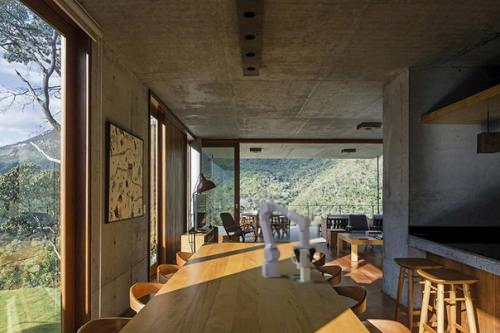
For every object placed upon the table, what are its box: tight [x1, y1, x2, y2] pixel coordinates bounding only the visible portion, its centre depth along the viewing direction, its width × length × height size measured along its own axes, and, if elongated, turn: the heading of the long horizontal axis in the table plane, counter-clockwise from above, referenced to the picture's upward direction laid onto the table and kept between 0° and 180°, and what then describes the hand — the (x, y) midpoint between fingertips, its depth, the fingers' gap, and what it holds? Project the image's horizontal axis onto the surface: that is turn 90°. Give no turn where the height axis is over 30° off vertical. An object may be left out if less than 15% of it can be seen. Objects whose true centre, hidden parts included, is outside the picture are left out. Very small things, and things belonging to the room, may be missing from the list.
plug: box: [299, 266, 311, 282], centre depth 219 cm, size 4×4×7 cm
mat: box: [296, 279, 315, 284], centre depth 219 cm, size 7×7×1 cm
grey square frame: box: [286, 272, 300, 281], centre depth 228 cm, size 9×9×2 cm
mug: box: [290, 249, 307, 270], centre depth 255 cm, size 10×7×12 cm, turn 80°
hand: (304, 262), depth 221 cm, fingers open, 7 cm apart
